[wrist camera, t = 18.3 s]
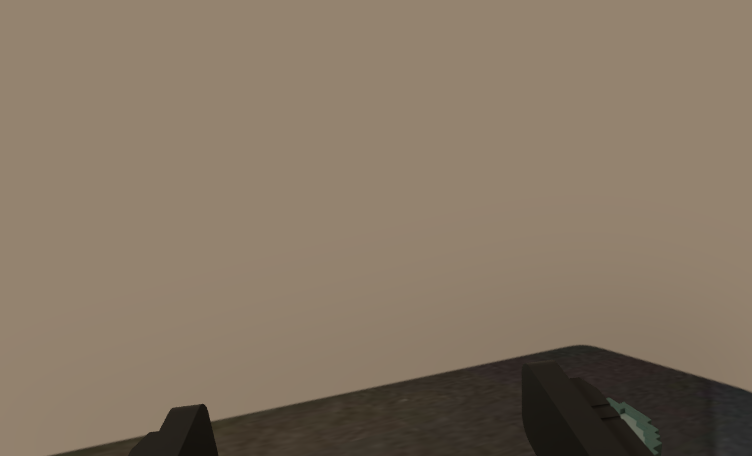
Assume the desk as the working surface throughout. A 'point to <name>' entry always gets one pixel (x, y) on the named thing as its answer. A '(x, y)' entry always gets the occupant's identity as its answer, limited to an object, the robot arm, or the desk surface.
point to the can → (639, 426)
